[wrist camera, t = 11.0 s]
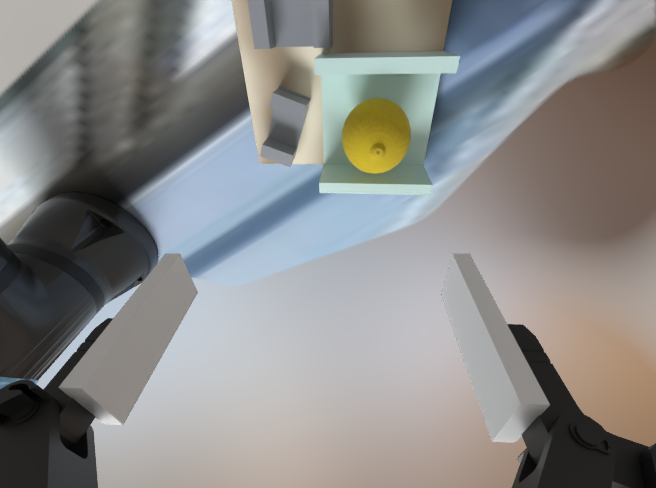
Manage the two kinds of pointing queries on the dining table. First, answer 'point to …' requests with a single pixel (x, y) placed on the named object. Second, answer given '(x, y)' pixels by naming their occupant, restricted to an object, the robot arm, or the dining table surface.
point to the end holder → (388, 83)
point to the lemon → (376, 135)
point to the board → (348, 36)
